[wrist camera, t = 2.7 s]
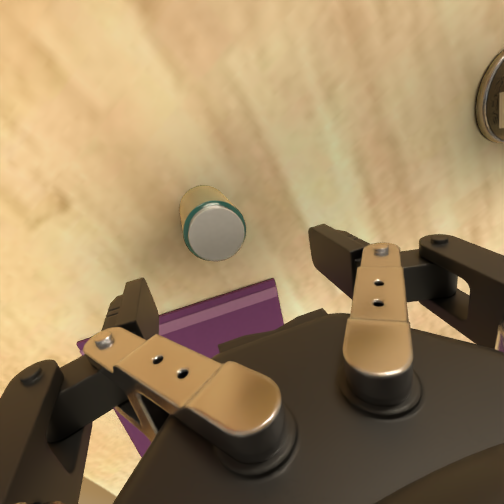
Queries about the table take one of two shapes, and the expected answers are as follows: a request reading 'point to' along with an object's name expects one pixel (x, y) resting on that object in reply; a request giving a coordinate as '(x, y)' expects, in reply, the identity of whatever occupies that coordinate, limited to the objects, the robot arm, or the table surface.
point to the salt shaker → (211, 224)
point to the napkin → (214, 328)
